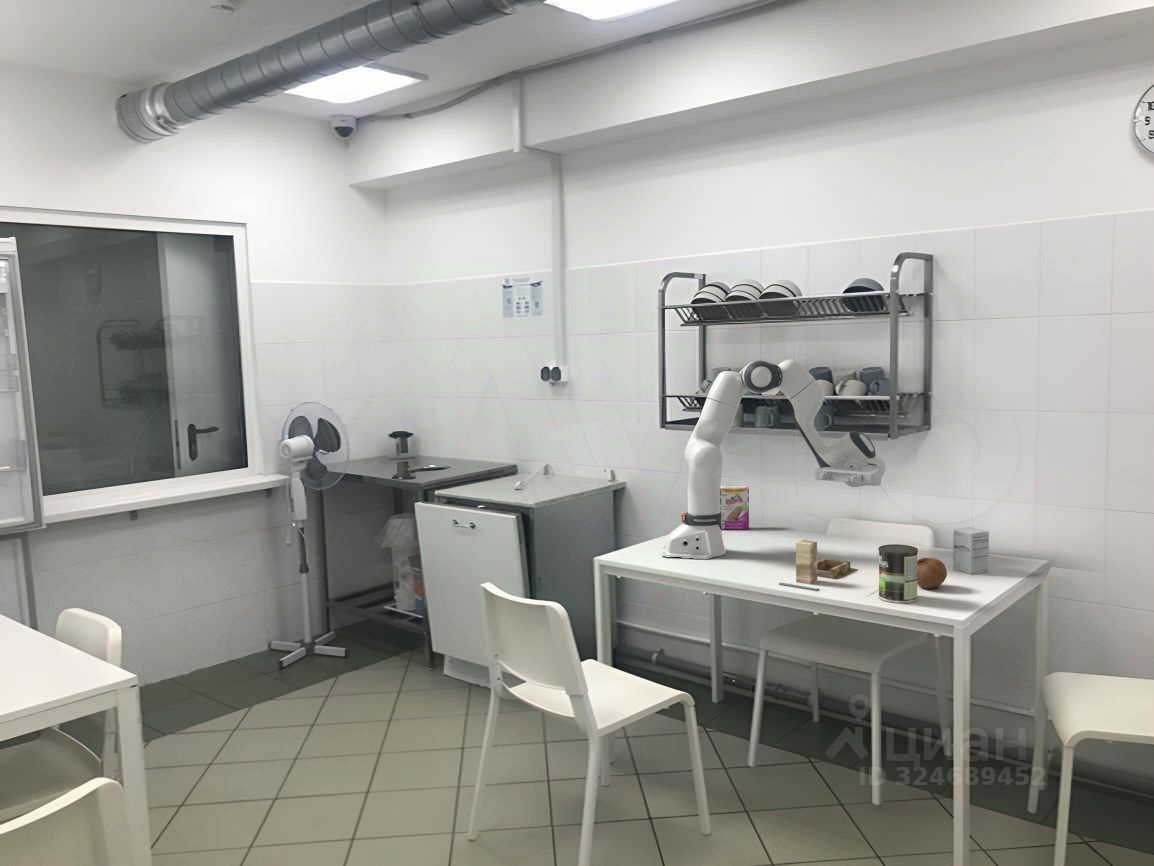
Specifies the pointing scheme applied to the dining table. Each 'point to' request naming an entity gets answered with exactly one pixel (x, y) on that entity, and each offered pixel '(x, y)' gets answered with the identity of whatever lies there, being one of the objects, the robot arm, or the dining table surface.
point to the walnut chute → (833, 568)
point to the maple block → (806, 562)
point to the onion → (930, 573)
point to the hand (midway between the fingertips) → (836, 478)
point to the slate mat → (799, 586)
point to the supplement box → (970, 550)
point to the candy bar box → (734, 507)
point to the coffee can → (898, 573)
